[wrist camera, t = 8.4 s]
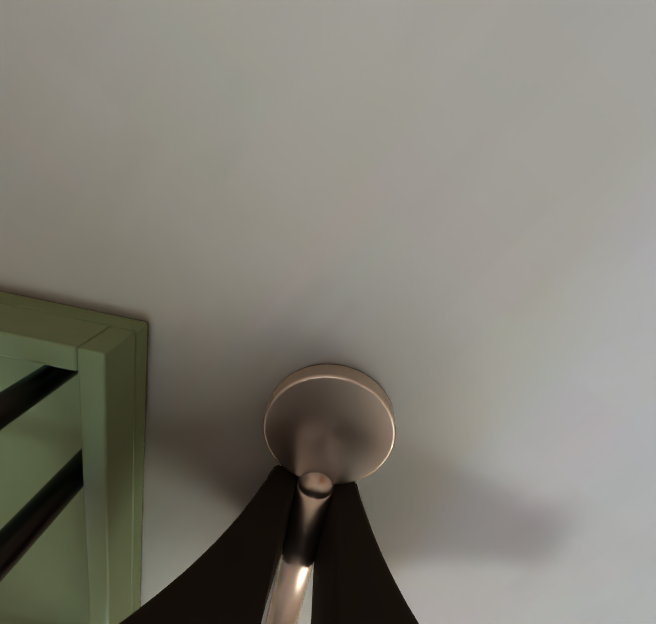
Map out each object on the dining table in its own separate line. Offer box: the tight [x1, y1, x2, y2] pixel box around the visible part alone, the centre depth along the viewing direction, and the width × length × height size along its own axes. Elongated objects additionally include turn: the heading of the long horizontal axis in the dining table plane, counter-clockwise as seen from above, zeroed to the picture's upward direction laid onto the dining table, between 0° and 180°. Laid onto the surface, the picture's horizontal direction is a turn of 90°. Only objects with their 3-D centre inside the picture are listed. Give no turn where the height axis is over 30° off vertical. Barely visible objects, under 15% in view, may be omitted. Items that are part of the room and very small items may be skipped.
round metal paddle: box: [263, 364, 396, 624], centre depth 11 cm, size 12×3×1 cm, turn 169°
